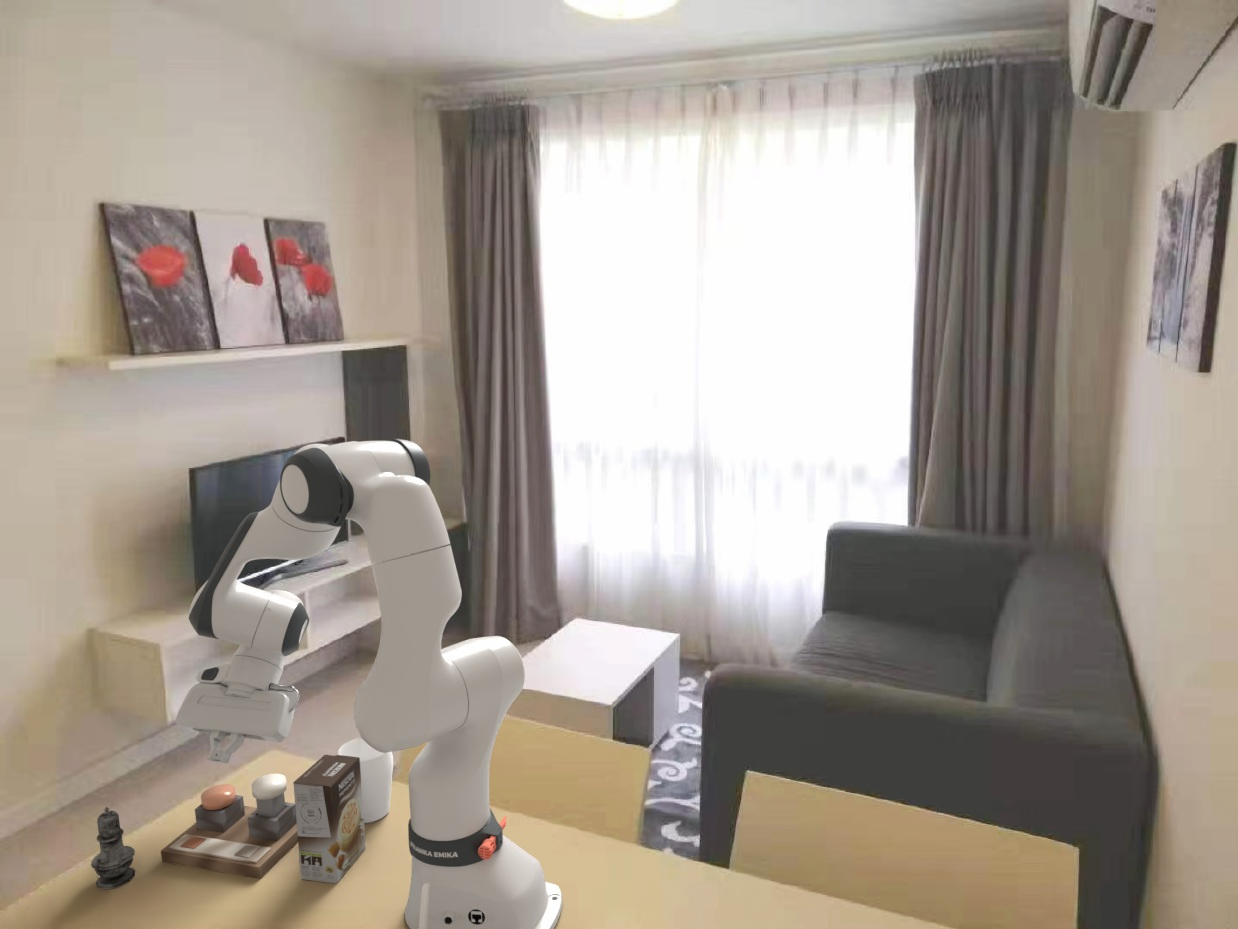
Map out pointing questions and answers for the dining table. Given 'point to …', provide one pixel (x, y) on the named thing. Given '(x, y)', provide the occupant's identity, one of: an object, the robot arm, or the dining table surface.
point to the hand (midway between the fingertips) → (217, 762)
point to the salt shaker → (112, 853)
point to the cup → (372, 777)
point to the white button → (269, 794)
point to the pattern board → (234, 840)
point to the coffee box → (329, 818)
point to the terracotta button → (218, 797)
